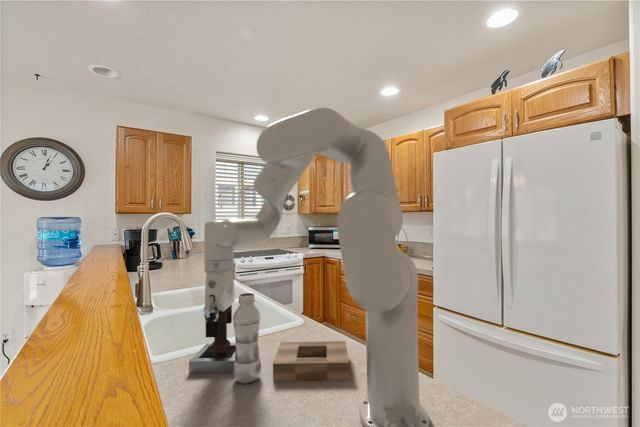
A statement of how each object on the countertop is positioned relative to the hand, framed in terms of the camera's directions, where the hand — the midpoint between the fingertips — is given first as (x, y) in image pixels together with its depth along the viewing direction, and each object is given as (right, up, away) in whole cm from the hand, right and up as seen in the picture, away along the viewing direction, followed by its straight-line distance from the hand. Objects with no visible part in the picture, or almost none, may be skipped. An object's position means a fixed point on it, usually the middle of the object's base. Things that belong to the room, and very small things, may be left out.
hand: (219, 329), depth 75 cm
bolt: (0, -9, 0) cm, 9 cm away
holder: (0, -9, 0) cm, 9 cm away
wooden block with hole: (+25, -8, -4) cm, 27 cm away
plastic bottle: (+10, -9, -9) cm, 16 cm away
